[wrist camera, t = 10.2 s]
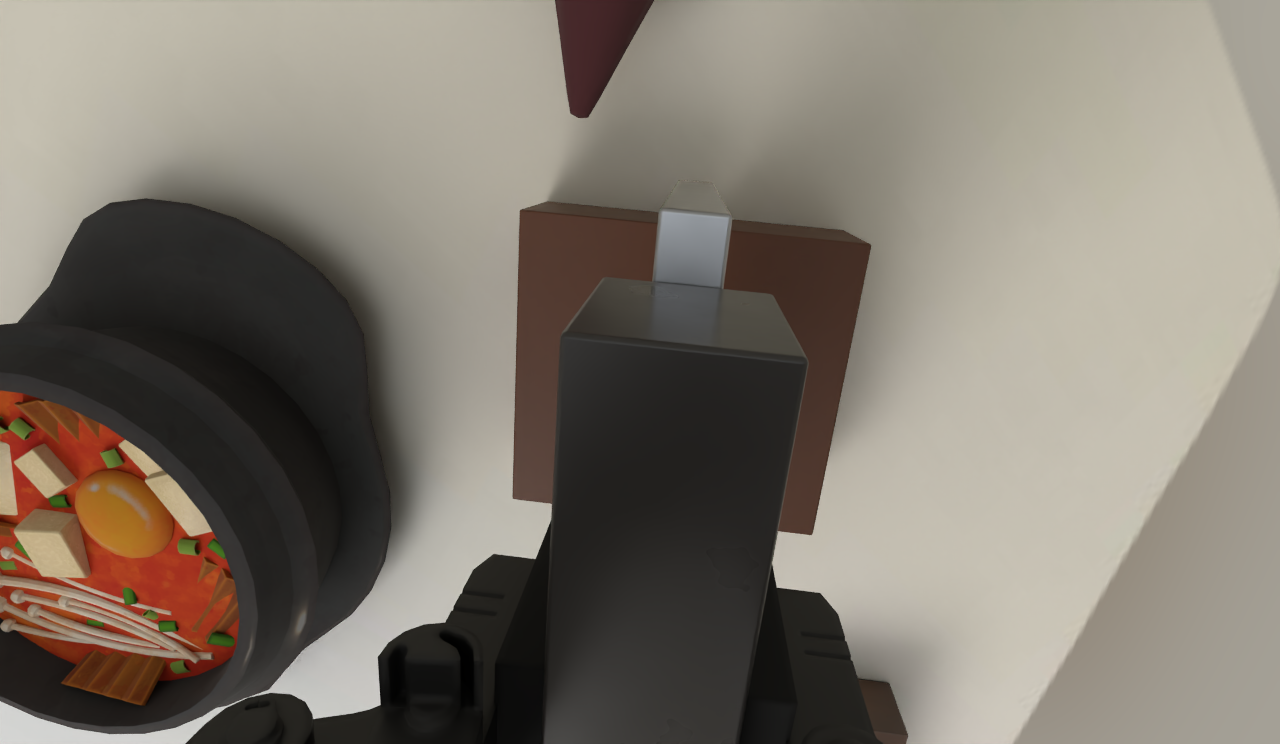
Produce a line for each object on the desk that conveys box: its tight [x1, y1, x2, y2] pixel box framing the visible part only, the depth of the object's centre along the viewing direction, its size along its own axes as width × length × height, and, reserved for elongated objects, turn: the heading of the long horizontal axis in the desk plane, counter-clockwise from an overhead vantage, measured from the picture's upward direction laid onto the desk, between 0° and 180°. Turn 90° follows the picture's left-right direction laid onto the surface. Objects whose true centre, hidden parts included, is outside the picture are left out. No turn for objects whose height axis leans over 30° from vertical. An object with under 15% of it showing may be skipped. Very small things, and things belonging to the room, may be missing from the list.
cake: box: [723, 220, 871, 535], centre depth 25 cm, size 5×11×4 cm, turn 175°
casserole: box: [0, 199, 391, 734], centre depth 26 cm, size 25×19×8 cm
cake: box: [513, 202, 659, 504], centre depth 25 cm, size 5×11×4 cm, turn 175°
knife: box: [541, 180, 809, 744], centre depth 14 cm, size 2×14×13 cm, turn 175°
